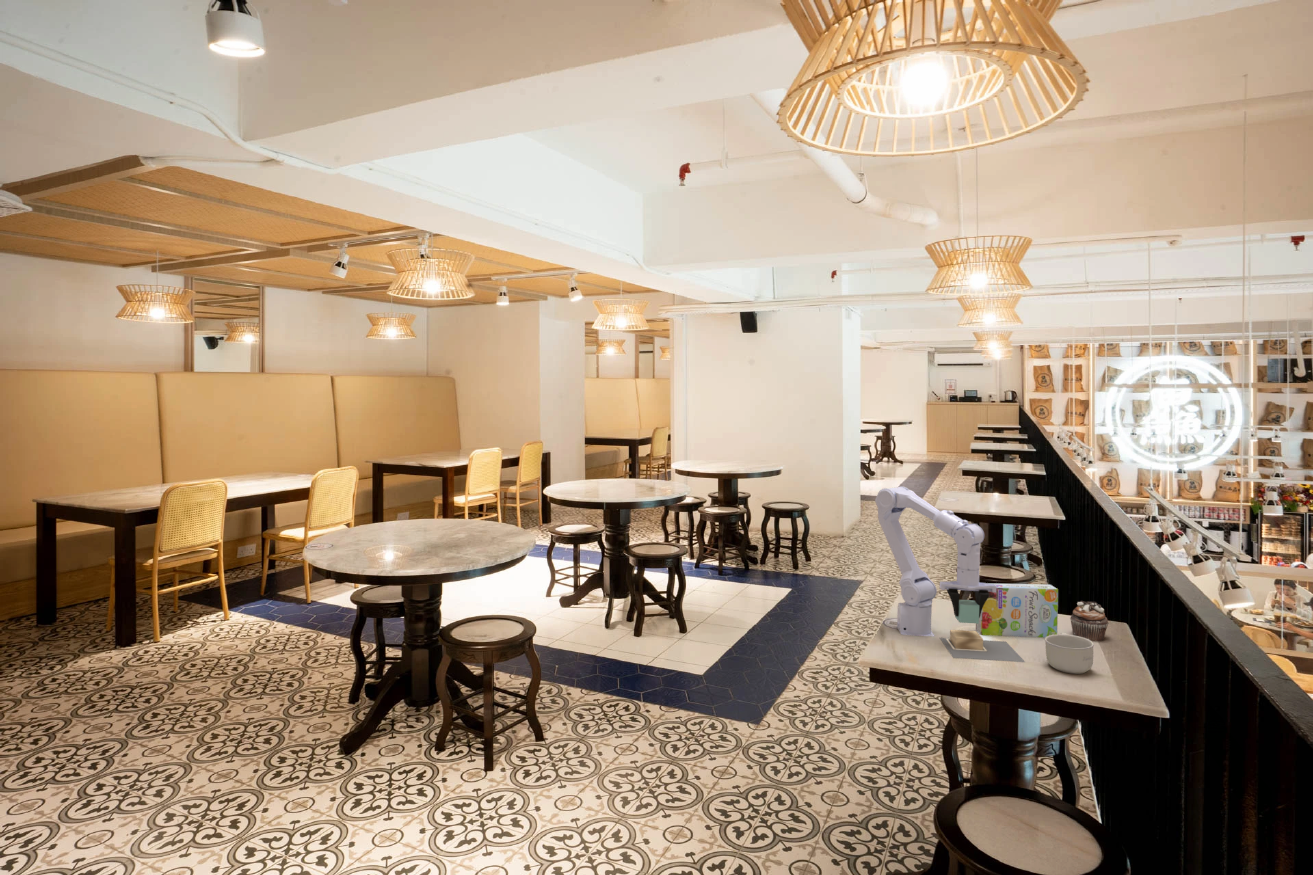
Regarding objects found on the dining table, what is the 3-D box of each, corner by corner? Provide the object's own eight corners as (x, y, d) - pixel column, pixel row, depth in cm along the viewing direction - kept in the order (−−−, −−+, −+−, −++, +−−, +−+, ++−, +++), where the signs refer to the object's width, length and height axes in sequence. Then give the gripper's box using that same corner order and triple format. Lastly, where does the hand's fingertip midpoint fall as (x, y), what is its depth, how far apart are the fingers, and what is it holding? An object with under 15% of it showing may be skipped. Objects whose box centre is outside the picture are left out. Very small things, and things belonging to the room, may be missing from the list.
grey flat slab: (953, 659, 188) (953, 657, 188) (939, 639, 204) (939, 637, 204) (1025, 664, 185) (1025, 661, 185) (1006, 643, 201) (1006, 641, 201)
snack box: (1048, 633, 210) (1050, 583, 209) (1057, 640, 204) (1059, 588, 203) (974, 631, 212) (976, 581, 211) (981, 637, 206) (982, 586, 205)
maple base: (956, 648, 195) (956, 637, 195) (949, 639, 202) (950, 629, 202) (982, 649, 194) (983, 639, 194) (975, 641, 201) (976, 631, 201)
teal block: (959, 622, 196) (960, 604, 195) (955, 616, 200) (955, 599, 200) (978, 623, 195) (979, 605, 194) (973, 617, 200) (974, 600, 199)
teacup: (1092, 682, 174) (1093, 650, 173) (1042, 672, 180) (1043, 642, 179) (1092, 664, 186) (1094, 634, 185) (1046, 656, 191) (1046, 627, 191)
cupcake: (1062, 630, 212) (1064, 597, 212) (1095, 631, 212) (1096, 598, 211) (1080, 641, 203) (1082, 607, 202) (1115, 642, 202) (1116, 607, 202)
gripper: (944, 570, 194) (942, 618, 195) (1000, 572, 192) (998, 621, 192) (938, 564, 201) (937, 611, 202) (992, 566, 199) (991, 613, 199)
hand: (966, 615), depth 198 cm, fingers closed on teal block, 5 cm apart
